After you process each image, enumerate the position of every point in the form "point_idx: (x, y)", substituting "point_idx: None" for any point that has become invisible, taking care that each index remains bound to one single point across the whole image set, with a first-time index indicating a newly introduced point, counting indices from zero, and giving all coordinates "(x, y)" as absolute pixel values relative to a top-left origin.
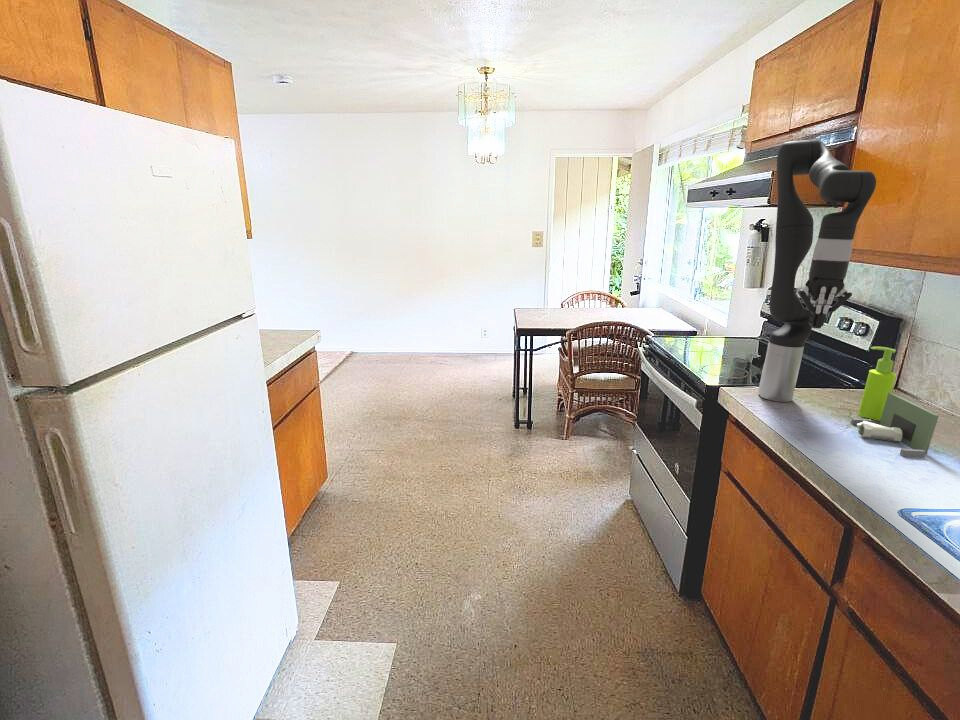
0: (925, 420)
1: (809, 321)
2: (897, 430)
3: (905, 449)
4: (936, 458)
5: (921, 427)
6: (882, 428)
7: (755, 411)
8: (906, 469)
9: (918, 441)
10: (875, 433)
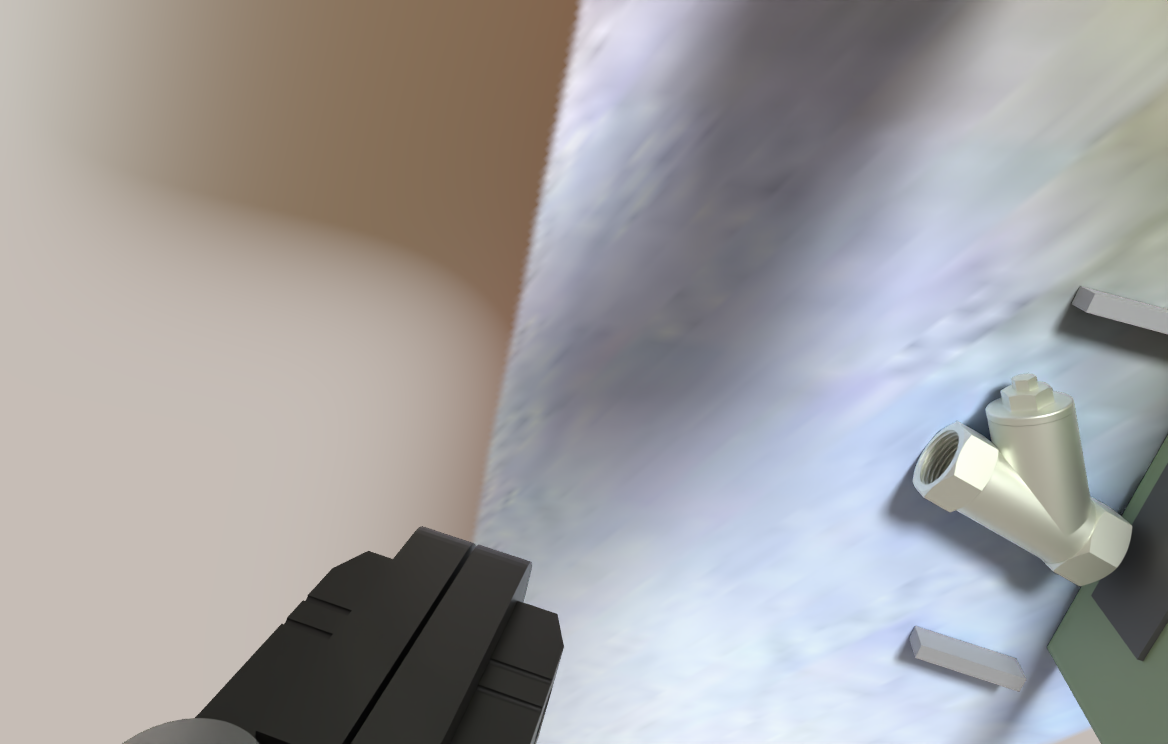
0: (1143, 740)
1: (317, 595)
2: (1081, 568)
3: (934, 655)
4: (1059, 691)
5: (1123, 694)
6: (1018, 529)
7: (596, 12)
8: (790, 712)
9: (1084, 645)
10: (963, 514)
